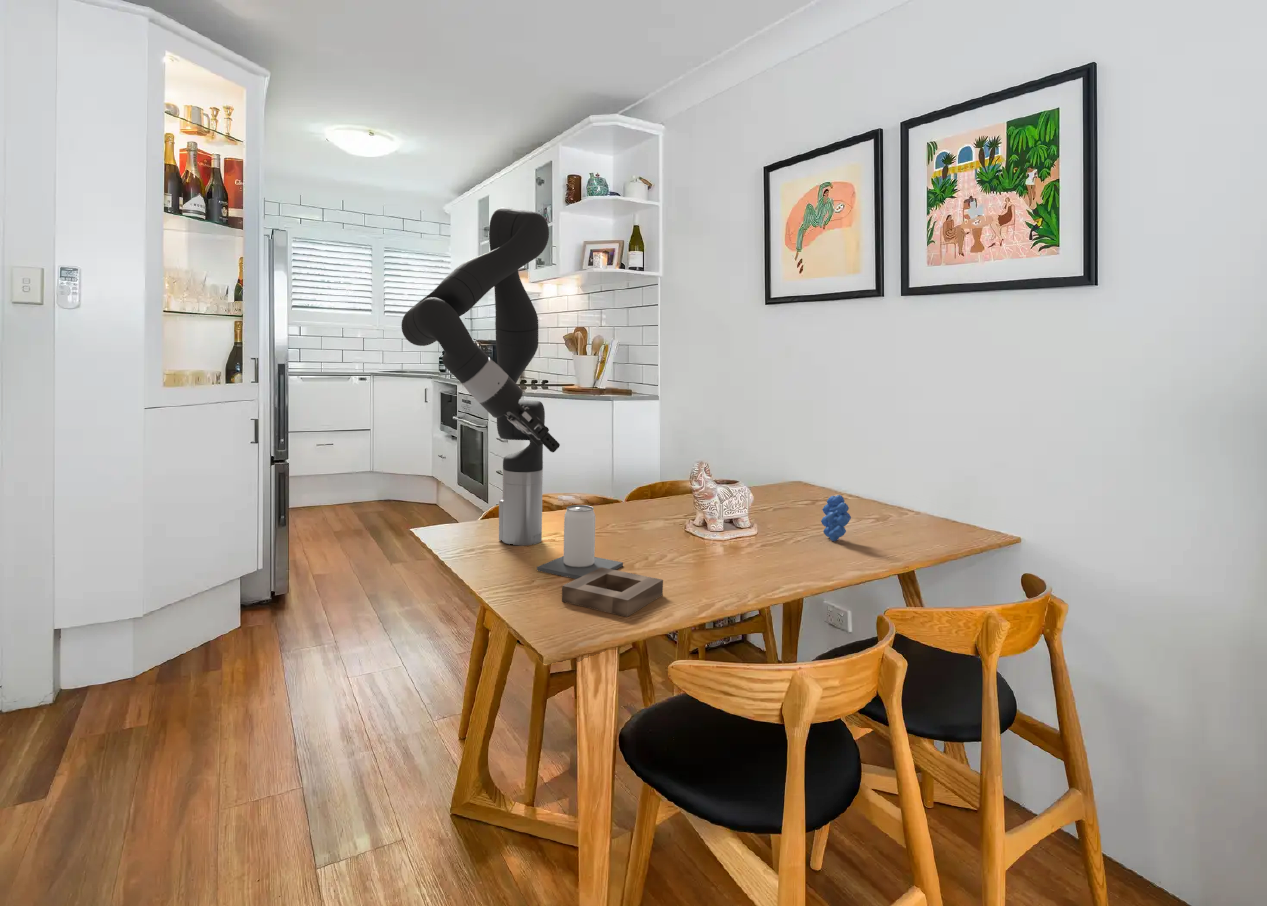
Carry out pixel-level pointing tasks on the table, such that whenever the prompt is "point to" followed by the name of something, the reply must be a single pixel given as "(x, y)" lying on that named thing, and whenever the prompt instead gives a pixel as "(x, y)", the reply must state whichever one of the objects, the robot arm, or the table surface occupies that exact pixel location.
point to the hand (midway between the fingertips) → (549, 445)
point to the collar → (600, 595)
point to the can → (579, 536)
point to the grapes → (835, 517)
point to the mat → (566, 571)
